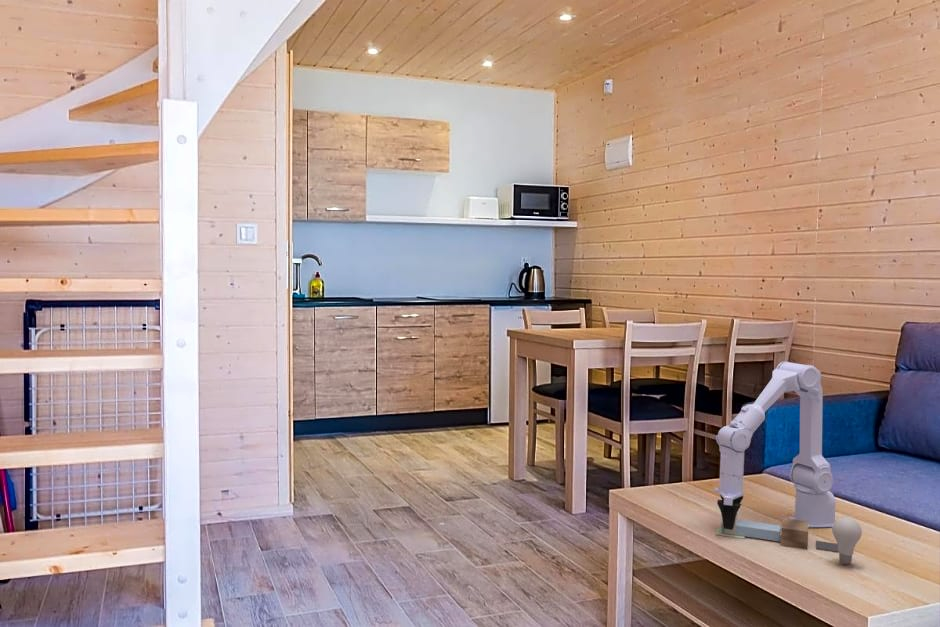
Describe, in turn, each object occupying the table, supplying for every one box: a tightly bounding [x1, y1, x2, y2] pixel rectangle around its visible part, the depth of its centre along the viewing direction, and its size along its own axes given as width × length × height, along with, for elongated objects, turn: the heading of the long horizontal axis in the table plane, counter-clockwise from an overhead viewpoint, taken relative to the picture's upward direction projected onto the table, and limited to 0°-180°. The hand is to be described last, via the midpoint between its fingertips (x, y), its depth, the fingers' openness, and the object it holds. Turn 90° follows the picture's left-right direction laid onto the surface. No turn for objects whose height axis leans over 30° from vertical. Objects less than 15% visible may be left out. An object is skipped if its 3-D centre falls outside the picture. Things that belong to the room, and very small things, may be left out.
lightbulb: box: [831, 516, 862, 566], centre depth 176 cm, size 6×6×11 cm
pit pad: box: [815, 540, 839, 554], centre depth 187 cm, size 6×6×1 cm
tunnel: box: [780, 517, 809, 551], centre depth 190 cm, size 6×9×4 cm
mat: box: [714, 525, 746, 539], centre depth 197 cm, size 7×7×1 cm
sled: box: [721, 511, 782, 542], centre depth 194 cm, size 14×5×6 cm, turn 66°
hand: (729, 525), depth 197 cm, fingers closed on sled, 5 cm apart
